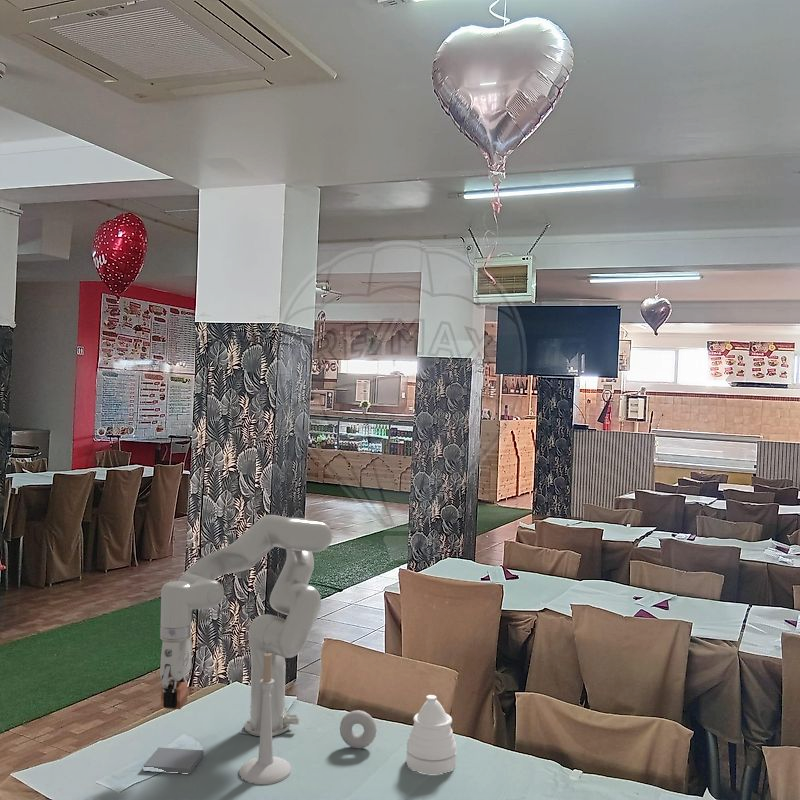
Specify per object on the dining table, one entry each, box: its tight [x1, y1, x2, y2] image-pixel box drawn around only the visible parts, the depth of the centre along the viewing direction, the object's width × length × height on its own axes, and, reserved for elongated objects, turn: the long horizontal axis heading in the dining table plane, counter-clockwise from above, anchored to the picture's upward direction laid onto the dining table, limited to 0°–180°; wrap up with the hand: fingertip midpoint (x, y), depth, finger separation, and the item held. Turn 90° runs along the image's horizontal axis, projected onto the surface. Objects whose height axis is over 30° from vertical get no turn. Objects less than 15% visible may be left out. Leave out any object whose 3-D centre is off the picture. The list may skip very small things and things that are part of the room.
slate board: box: [142, 747, 204, 775], centre depth 201 cm, size 12×10×2 cm
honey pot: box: [405, 694, 457, 774], centre depth 204 cm, size 13×13×18 cm
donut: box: [339, 709, 377, 749], centre depth 212 cm, size 10×4×10 cm, turn 82°
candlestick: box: [238, 653, 292, 786], centre depth 198 cm, size 13×13×30 cm
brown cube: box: [160, 681, 189, 710], centre depth 201 cm, size 5×5×5 cm
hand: (174, 702), depth 201 cm, fingers closed on brown cube, 5 cm apart
